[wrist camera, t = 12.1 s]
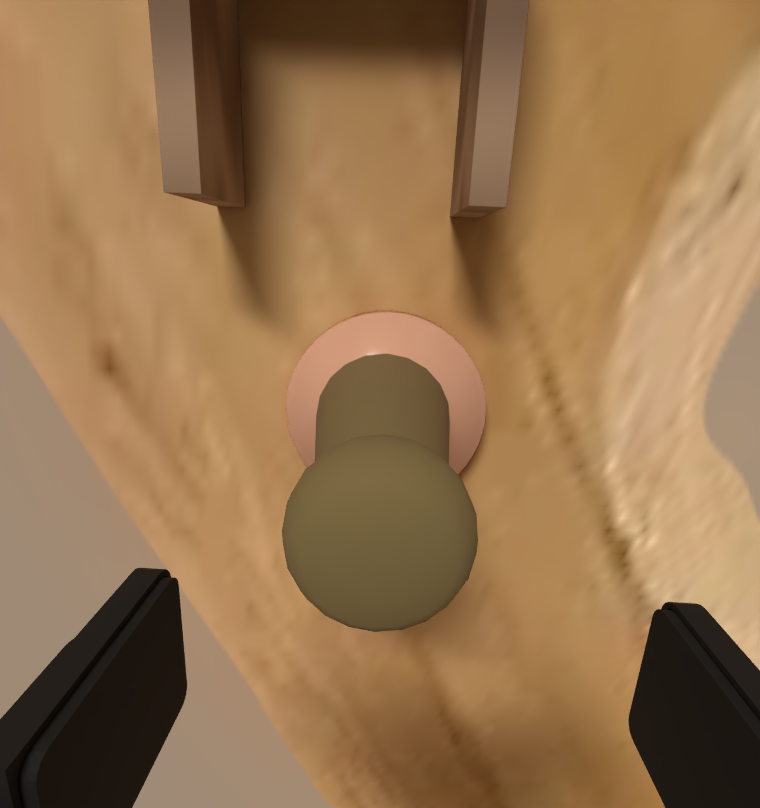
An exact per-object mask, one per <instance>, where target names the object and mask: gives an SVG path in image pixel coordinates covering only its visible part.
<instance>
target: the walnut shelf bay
mask: <svg viewBox="0 0 760 808" xmlns="http://www.w3.org/2000/svg"><path fill="white" fill-rule="evenodd" d="M148 6H149V18H150V30H151V42H152V54H153V66H154V78H155V90H156V102H157V115H158V127H159V139H160V151H161V163H162V175H163V187H164V192H165V193H169V194H173V195H177V196H180V197H184V198H188V199H191V200H195V201H199V202H203V203H206V204H210V205H214V206H222V207H245V191H244V164H243V137H242V110H241V83H240V56H239V29H238V2H237V0H148ZM528 7H529V0H467V11H466V24H465V36H464V49H463V61H462V74H461V86H460V99H459V111H458V124H457V136H456V149H455V161H454V174H453V186H452V199H451V211H450V217H470V218H480V217H482V216H485V215H487V214H490V213H493V212H495V211H498V210H500V209H503V208H505V207H506V204H507V195H508V186H509V177H510V168H511V159H512V150H513V141H514V132H515V123H516V115H517V106H518V97H519V88H520V79H521V70H522V61H523V52H524V43H525V34H526V25H527V16H528Z"/></svg>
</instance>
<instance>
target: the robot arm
mask: <svg viewBox="0 0 760 808" xmlns="http://www.w3.org/2000/svg"><path fill="white" fill-rule="evenodd" d="M186 690H187V679H186V668H185V655H184V644H183V631H182V621H181V608H180V596H179V584H178V580H177V579H176V578H171V576H170V573H169V571H168V570H166V569H149V568H137V569H135V570H134V571H133V572H132V573H131V574H130V575H129V576H128V578H127V579H126V580H125V581H124V582H123V583H122V585H121V586H120V587H119V588H118V589H117V590H116V591H115V593H114V594H113V595H112V596H111V597H110V598H109V599H108V601H107V602H106V603H105V604H104V605H103V606H102V607H101V609H100V610H99V611H98V612H97V613H96V614H95V615H94V617H93V618H92V619H91V620H90V621H89V622H88V623H87V625H86V626H85V627H84V628H83V629H82V630H81V631H80V633H79V634H78V635H77V636H76V637H75V638H74V639H73V640H71V641H70V642H69V643H68V644H67V645H66V646H65V647H64V648H63V649H62V650H61V651H60V652H59V653H58V655H57V656H56V657H55V658H54V659H53V660H52V661H51V663H50V664H49V665H48V666H47V667H46V668H45V670H43V672H42V673H41V674H40V675H39V676H38V677H37V678H36V680H35V681H34V682H33V683H32V684H31V685H30V687H29V688H28V689H27V690H26V691H25V692H24V693H23V694H22V695H21V697H20V698H19V699H18V700H17V701H16V702H15V703H14V705H13V706H12V707H11V708H10V709H9V710H8V711H7V712H6V714H5V715H4V716H3V717H2V718H1V719H0V808H132V807H133V805H134V803H135V801H136V799H137V797H138V794H139V792H140V791H141V789H142V787H143V785H144V783H145V781H146V778H147V776H148V774H149V772H150V770H151V768H152V766H153V764H154V762H155V760H156V758H157V756H158V754H159V752H160V750H161V748H162V746H163V744H164V742H165V740H166V738H167V736H168V734H169V732H170V730H171V728H172V726H173V724H174V722H175V720H176V718H177V716H178V714H179V712H180V710H181V708H182V705H183V703H184V700H185V696H186ZM629 729H630V733H631V737H632V739H633V742H634V744H635V746H636V748H637V750H638V752H639V754H640V756H641V758H642V760H643V762H644V764H645V766H646V768H647V770H648V772H649V775H650V777H651V779H652V781H653V783H654V785H655V787H656V789H657V791H658V793H659V795H660V797H661V799H662V801H663V803H664V805H665V808H760V670H759V669H758V668H757V667H756V666H755V665H754V664H753V663H752V661H751V660H750V659H749V658H748V657H747V656H746V655H745V653H744V652H743V651H742V650H741V649H740V648H739V647H738V645H737V644H736V643H735V642H734V641H733V640H732V639H731V637H730V636H729V635H728V634H727V633H726V632H725V631H724V630H723V628H722V627H721V626H720V625H719V624H718V623H717V622H716V620H715V619H714V618H713V617H712V616H711V615H710V614H709V612H708V611H707V610H706V609H705V608H704V607H703V606H701V605H699V604H692V603H676V602H667V603H665V604H664V605H663V606H662V609H658V610H656V611H655V612H654V614H653V617H652V622H651V626H650V630H649V634H648V638H647V643H646V647H645V651H644V655H643V659H642V664H641V668H640V672H639V676H638V680H637V685H636V689H635V693H634V697H633V701H632V706H631V710H630V714H629Z"/></svg>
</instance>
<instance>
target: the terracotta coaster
mask: <svg viewBox="0 0 760 808" xmlns="http://www.w3.org/2000/svg"><path fill="white" fill-rule="evenodd" d="M386 353H387V354H392V355H397V356H401V357H406V358H409V359H411V360H412V361H414V362H416V363H418V364H419V365H421V366H423V367H425V368H426V369H427V370H428V371H429V372H430V373H431V374H432V375H433V376H434V378H435V379H436V380H437V381H438V382H439V383H440V384H441V387H442V389H443V392H444V394H445V396H446V399H447V401H448V406H449V421H450V430H449V466H450V467H451V468H452V469H453V470H454V471H455V472H456V473H457V474H459V473H460V472H461V470H462V469H463V468H464V467H465V466H466V465H467V463H468V462H469V460H470V459H471V457H472V456H473V454H474V453H475V450H476V448H477V446H478V444H479V442H480V439H481V436H482V433H483V429H484V424H485V416H486V402H485V393H484V388H483V384H482V381H481V378H480V375H479V373H478V370H477V368H476V367H475V365H474V363H473V361H472V359H471V358H470V356H469V355H468V354H467V352H466V351H465V350H464V349H463V347H462V346H461V345H460V343H459V342H458V341H457V340H456V339H455V338H454V337H453V336H452V335H451V334H449V333H448V332H447V331H445V330H444V329H443V328H441V327H440V326H438V325H436V324H435V323H433V322H431V321H429V320H427V319H424V318H422V317H419V316H417V315H413V314H409V313H405V312H398V311H374V312H367V313H363V314H359V315H356V316H352V317H350V318H348V319H345V320H343V321H341V322H339V323H337V324H336V325H334V326H332V327H331V328H329V329H328V330H327V331H325V332H324V333H323V334H322V335H321V336H319V337H318V338H317V339H316V340H315V342H314V343H313V344H312V345H311V346H310V347H309V348H308V349H307V351H306V352H305V353H304V355H303V356H302V358H301V359H300V361H299V362H298V364H297V366H296V368H295V370H294V372H293V375H292V378H291V381H290V384H289V388H288V393H287V402H286V414H287V423H288V428H289V432H290V436H291V438H292V441H293V444H294V446H295V448H296V450H297V452H298V454H299V456H300V457H301V458H302V460H303V461H304V463H305V464H306V466H307V467H309V466H310V465H312V464H313V463H314V462H315V438H316V414H317V409H318V403H319V398H320V395H321V393H322V391H323V389H324V388H325V386H326V384H327V382H328V381H329V379H330V378H331V377H332V376H333V375H334V374H335V373H336V372H337V371H338V370H339V369H341V368H342V367H343V366H344V365H345V364H347V363H349V362H352V361H354V360H356V359H358V358H361V357H363V356H366V355H376V354H386Z"/></svg>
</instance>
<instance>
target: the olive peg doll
mask: <svg viewBox="0 0 760 808" xmlns="http://www.w3.org/2000/svg"><path fill="white" fill-rule="evenodd" d="M449 430H450V421H449V406H448V401H447V399H446V396H445V394H444V392H443V389H442V387H441V384H440V383H439V382H438V381H437V380H436V379H435V378H434V376H433V375H432V374H431V373H430V372H429V371H428V370H427V369H426V368H425V367H423V366H421V365H419V364H418V363H416V362H414V361H412V360H411V359H409V358H406V357H401V356H397V355H392V354H387V353H386V354H376V355H366V356H363V357H361V358H358V359H356V360H354V361H352V362H349V363H347V364H345V365H344V366H343V367H342V368H341V369H339V370H338V371H337V372H336V373H335V374H334V375H333V376H332V377H331V378H330V379H329V381H328V382H327V384H326V386H325V388H324V389H323V391H322V393H321V395H320V398H319V403H318V409H317V414H316V438H315V462H314V463H313V464H312V465H310V466H309V467H308V468H307V469H306V470H305V471H304V473H303V474H302V476H301V478H300V480H299V481H298V483H297V485H296V486H295V488H294V490H293V492H292V493H291V496H290V498H289V500H288V503H287V506H286V512H285V517H284V523H283V529H282V536H283V546H284V551H285V557H286V562H287V567H288V570H289V572H290V573H291V575H292V577H293V578H294V580H295V582H296V584H297V585H298V587H299V589H300V590H301V592H302V593H303V595H304V596H305V597H306V598H307V599H308V600H309V601H310V602H311V603H312V604H313V605H314V606H315V607H316V608H318V609H319V610H320V611H321V612H322V613H323V614H324V615H325V616H327V617H329V618H331V619H334V620H336V621H338V622H340V623H342V624H344V625H346V626H348V627H352V628H358V629H363V630H368V631H374V632H377V631H391V630H402V629H405V628H408V627H410V626H413V625H416V624H419V623H422V622H425V621H427V620H428V619H430V618H431V617H432V616H434V615H435V614H437V613H438V612H439V611H441V610H442V609H444V608H445V607H446V606H447V605H448V604H449V603H450V602H451V601H452V599H453V598H454V597H455V595H456V594H457V593H458V592H459V590H460V589H461V588H462V586H463V585H464V584H465V582H466V581H467V580H468V578H469V575H470V572H471V569H472V565H473V562H474V559H475V556H476V552H477V543H478V538H477V518H476V512H475V510H474V507H473V504H472V502H471V499H470V497H469V495H468V493H467V490H466V488H465V486H464V483H463V481H462V479H461V478H460V476H459V475H458V474H457V473H456V472H455V471H454V470H453V469H452V468H451V467H450V466H449Z"/></svg>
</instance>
